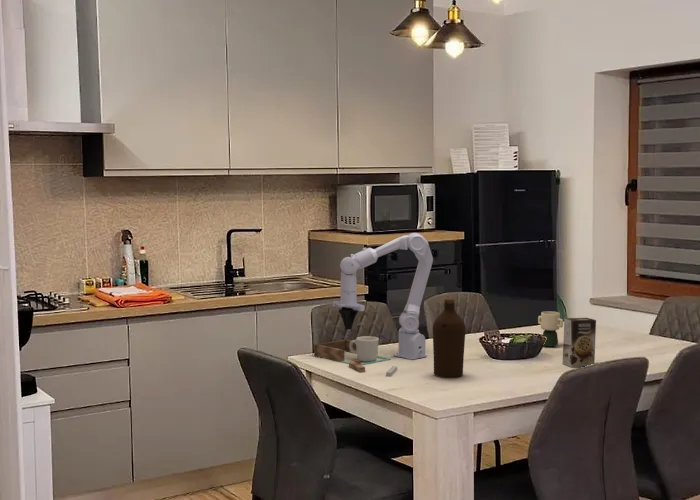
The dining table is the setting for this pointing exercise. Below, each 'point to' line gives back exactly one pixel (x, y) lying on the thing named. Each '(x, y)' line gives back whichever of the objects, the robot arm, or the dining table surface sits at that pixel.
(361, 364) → the bay
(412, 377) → the dining table surface
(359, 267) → the robot arm
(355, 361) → the crook stick
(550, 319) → the beige and green trophy
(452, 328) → the olive oil
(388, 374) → the straight stick
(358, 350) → the cup
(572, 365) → the cookie box
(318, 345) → the cubby
